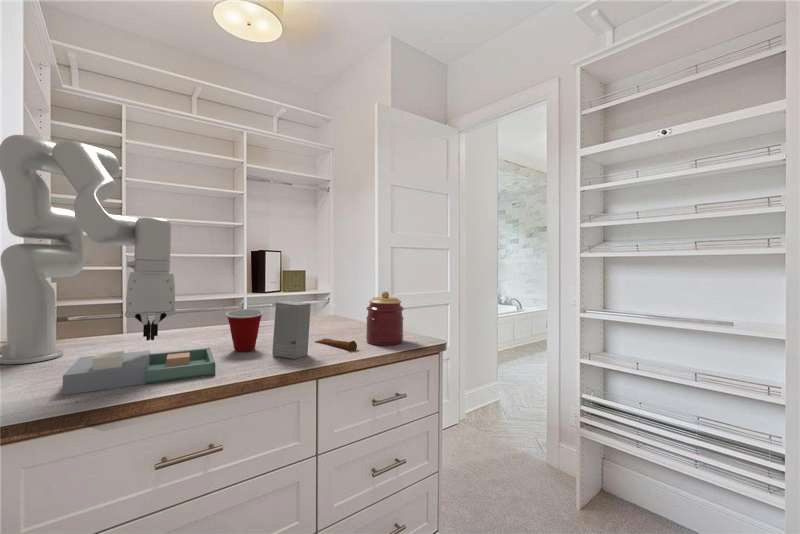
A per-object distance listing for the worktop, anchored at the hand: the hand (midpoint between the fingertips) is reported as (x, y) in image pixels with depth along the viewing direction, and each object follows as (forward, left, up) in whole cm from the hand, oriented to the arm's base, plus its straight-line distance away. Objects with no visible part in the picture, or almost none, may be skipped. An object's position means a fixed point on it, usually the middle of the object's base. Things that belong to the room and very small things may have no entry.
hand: (150, 339), depth 94 cm
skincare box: (+35, -4, -8) cm, 36 cm away
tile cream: (-7, -9, -4) cm, 12 cm away
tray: (+7, -5, -8) cm, 11 cm away
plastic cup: (+24, +9, -8) cm, 27 cm away
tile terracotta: (+6, -1, -5) cm, 8 cm away
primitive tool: (+50, +2, -8) cm, 51 cm away
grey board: (-7, -5, -8) cm, 11 cm away
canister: (+68, -1, -8) cm, 68 cm away
